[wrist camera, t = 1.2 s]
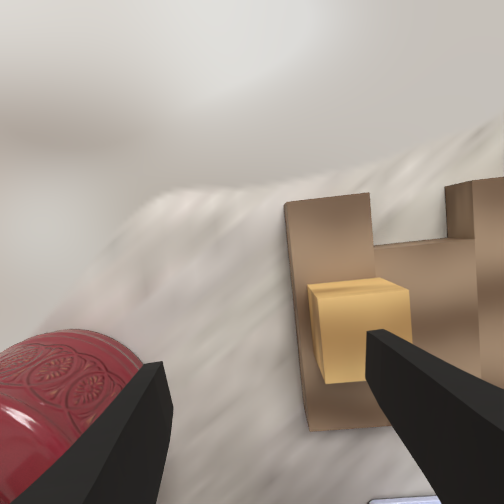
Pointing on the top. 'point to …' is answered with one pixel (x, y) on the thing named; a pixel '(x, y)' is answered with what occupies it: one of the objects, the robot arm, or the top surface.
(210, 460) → the top surface
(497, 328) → the wooden slab structure
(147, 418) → the robot arm
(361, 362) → the block
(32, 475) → the canister
